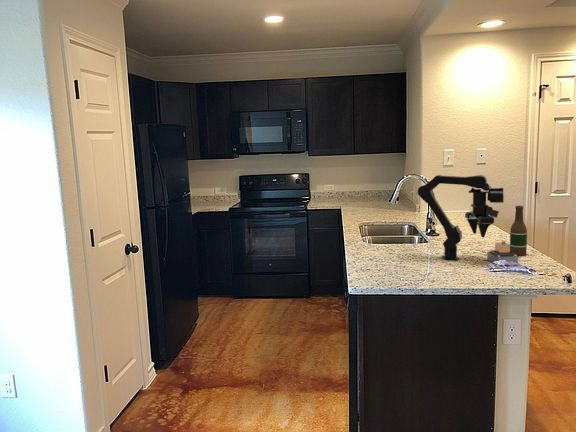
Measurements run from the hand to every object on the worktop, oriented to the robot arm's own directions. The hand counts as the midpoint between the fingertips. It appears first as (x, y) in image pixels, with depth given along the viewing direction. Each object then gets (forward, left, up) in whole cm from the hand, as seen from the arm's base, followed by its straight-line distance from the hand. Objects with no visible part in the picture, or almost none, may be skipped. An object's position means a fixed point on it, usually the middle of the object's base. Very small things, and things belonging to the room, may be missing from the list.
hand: (478, 235), depth 221 cm
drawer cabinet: (+6, +9, -12) cm, 16 cm away
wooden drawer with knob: (+6, +9, -11) cm, 15 cm away
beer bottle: (-8, +23, -12) cm, 27 cm away
